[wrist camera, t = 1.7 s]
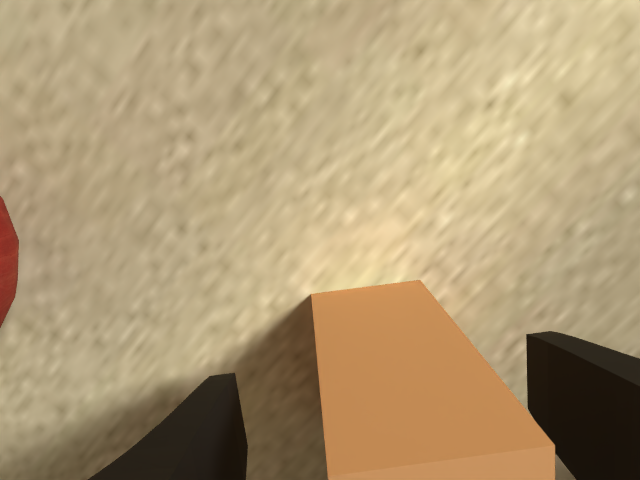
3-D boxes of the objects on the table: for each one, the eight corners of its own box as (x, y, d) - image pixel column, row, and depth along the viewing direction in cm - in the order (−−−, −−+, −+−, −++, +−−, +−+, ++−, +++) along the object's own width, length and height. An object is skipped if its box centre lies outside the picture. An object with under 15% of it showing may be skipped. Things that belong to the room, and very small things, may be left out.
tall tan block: (420, 279, 13) (555, 445, 6) (429, 409, 14) (556, 675, 7) (311, 294, 13) (327, 475, 6) (327, 423, 14) (358, 705, 7)
